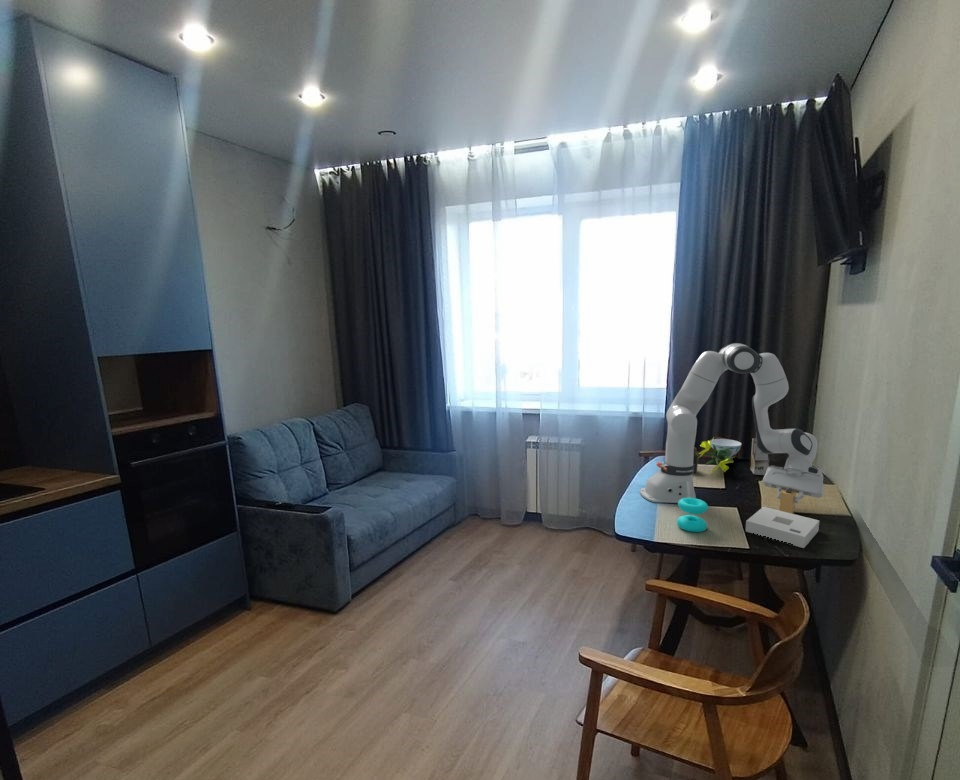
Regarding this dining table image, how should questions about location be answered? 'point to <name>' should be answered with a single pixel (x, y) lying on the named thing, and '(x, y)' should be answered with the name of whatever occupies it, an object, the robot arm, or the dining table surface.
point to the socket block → (783, 526)
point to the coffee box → (758, 460)
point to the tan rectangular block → (787, 501)
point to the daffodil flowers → (717, 453)
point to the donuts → (692, 521)
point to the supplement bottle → (695, 460)
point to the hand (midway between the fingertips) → (787, 500)
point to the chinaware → (726, 445)
